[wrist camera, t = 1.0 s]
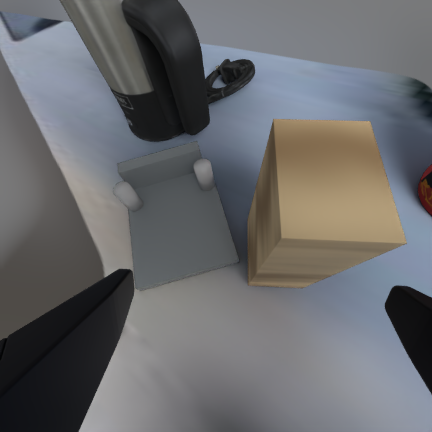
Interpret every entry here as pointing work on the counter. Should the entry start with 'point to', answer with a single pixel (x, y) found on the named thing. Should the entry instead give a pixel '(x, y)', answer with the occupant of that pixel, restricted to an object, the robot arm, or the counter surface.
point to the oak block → (319, 203)
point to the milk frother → (154, 64)
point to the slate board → (174, 216)
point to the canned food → (426, 189)
